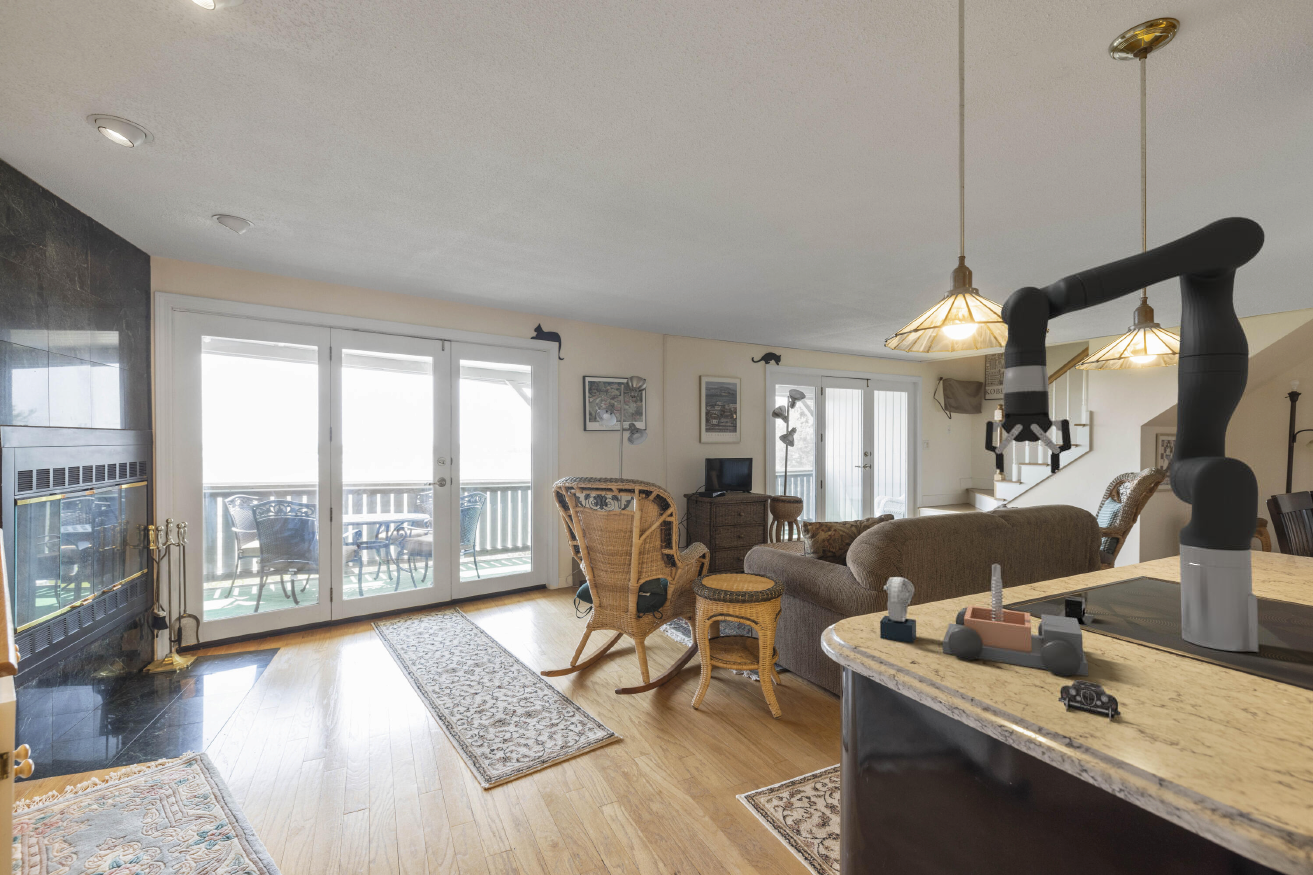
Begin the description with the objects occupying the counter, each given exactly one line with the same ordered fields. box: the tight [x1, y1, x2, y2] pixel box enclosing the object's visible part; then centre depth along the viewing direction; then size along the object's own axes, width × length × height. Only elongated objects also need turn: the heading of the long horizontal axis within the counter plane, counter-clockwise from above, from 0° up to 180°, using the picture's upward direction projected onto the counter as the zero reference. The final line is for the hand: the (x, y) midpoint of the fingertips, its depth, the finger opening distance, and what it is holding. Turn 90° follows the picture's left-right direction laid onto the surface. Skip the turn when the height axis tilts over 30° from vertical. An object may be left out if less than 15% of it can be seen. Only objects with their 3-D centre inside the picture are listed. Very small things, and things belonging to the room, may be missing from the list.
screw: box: [990, 563, 1004, 623], centre depth 101 cm, size 13×5×5 cm
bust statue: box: [879, 576, 917, 644], centre depth 108 cm, size 6×8×11 cm
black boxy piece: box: [1058, 595, 1095, 627], centre depth 119 cm, size 12×7×5 cm, turn 137°
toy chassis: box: [942, 605, 1089, 677], centre depth 99 cm, size 20×16×6 cm
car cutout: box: [1058, 679, 1122, 722], centre depth 74 cm, size 15×7×4 cm, turn 49°
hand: (1027, 472), depth 114 cm, fingers open, 8 cm apart
